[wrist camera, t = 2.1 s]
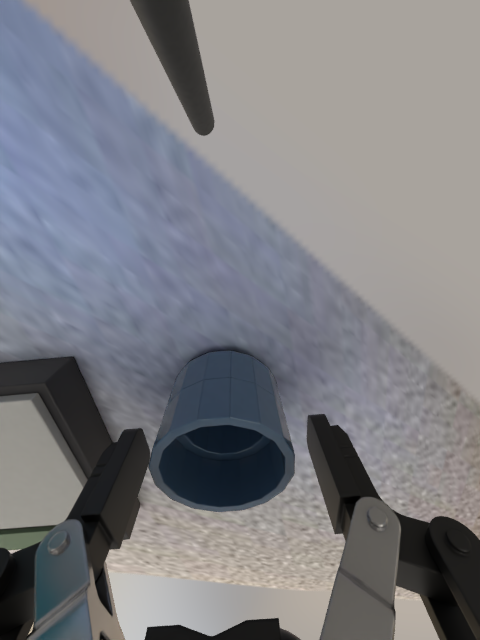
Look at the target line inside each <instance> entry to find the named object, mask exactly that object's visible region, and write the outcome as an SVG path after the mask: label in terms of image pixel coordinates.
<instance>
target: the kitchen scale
mask: <svg viewBox="0 0 480 640" xmlns="http://www.w3.org/2000/svg"><path fill="white" fill-rule="evenodd" d="M111 443H112V442H111V439H110V437H109V435H108V433H107V431H106V428H105V426H104V424H103V422H102V420H101V417H100V415H99V413H98V411H97V409H96V406H95V404H94V402H93V400H92V398H91V395H90V393H89V391H88V389H87V387H86V384H85V382H84V380H83V378H82V376H81V373H80V371H79V369H78V367H77V365H76V362H75V360H74V358H73V357H67V358H55V359H44V360H32V361H21V362H9V363H0V548H5V549H7V550H18V549H24V548H27V547H29V546H31V545H34V544H36V543H38V542H40V541H42V540H43V538H44V537H45V536H46V535H47V533H48V532H49V531H50V530H52V529H53V528H54V527H55V526H57V525H58V524H60V523H61V522H63V521H65V520H66V518H67V517H68V515H69V513H70V511H71V510H72V508H73V506H74V504H75V502H76V500H77V499H78V497H79V495H80V493H81V491H82V489H83V488H84V486H85V484H86V482H87V480H88V479H89V477H90V476H91V473H92V471H93V469H94V468H95V467H96V464H97V462H98V460H99V458H100V457H101V455H102V453H103V452H104V451H105V450H106V449H107V448H108V447H109V446H110V445H111ZM139 508H140V503H139V501H138V499H137V500H136V503H135V505H134V508H133V511H132V514H131V517H130V520H129V523H128V526H127V529H126V532H125V535H124V538H123V540H125V539H130V536H131V533H132V530H133V527H134V524H135V520H136V517H137V514H138V511H139Z"/></svg>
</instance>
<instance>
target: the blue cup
mask: <svg viewBox="0 0 480 640" xmlns="http://www.w3.org/2000/svg"><path fill="white" fill-rule="evenodd" d="M149 470H150V473H151V475H152V478H153V480H154V483H155V485H156V486H157V487H158V488H159V489H160V490H161V491H163V492H164V493H165V494H166V495H167V496H168V497H169V498H170V499H172V500H174V501H177V502H179V503H181V504H184V505H186V506H188V507H191V508H194V509H200V510H207V511H213V512H226V511H239V510H245V509H248V508H251V507H254V506H257V505H260V504H264V503H265V502H268V501H269V500H271V499H272V498H273V497H275V496H276V495H278V494H279V493H281V492H282V491H283V490H284V489H285V488H286V486H287V485H288V483H289V482H290V480H291V478H292V477H293V475H294V473H295V454H294V450H293V446H292V442H291V438H290V434H289V430H288V426H287V422H286V418H285V414H284V411H283V406H282V402H281V398H280V394H279V390H278V386H277V382H276V380H275V379H274V377H273V375H272V373H271V372H270V370H269V368H268V367H267V366H265V365H264V364H262V363H261V362H260V361H258V360H257V359H255V358H254V357H252V356H250V355H246V354H243V353H239V352H235V351H218V352H209V353H206V354H204V355H202V356H200V357H198V358H196V359H194V360H191V361H190V362H189V363H188V364H187V365H186V366H185V367H184V368H183V370H182V371H181V372H180V373H179V374H178V376H177V378H176V381H175V384H174V386H173V389H172V392H171V395H170V398H169V401H168V404H167V407H166V410H165V413H164V416H163V419H162V422H161V425H160V428H159V431H158V434H157V437H156V440H155V443H154V446H153V449H152V453H151V458H150V462H149Z"/></svg>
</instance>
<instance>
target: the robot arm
mask: <svg viewBox="0 0 480 640" xmlns="http://www.w3.org/2000/svg"><path fill="white" fill-rule="evenodd" d="M307 444H308V449H309V453H310V456H311V459H312V462H313V465H314V469H315V472H316V475H317V478H318V481H319V485H320V488H321V491H322V494H323V497H324V501H325V504H326V507H327V510H328V513H329V517H330V520H331V523H332V526H333V529H334V532H335V534H342V533H343V535H344V538H345V541H346V543H345V546H344V550H343V554H342V558H341V562H340V566H339V568H338V571H337V575H336V578H335V582H334V586H333V590H332V594H331V597H330V601H329V605H328V609H327V613H326V617H325V621H324V625H323V628H322V632H321V636H320V640H394V632H395V609H394V599H395V589H396V586H399V587H402V588H404V589H407V590H410V591H413V592H415V593H418V594H420V596H421V598H422V601H423V603H424V605H425V607H426V610H427V612H428V614H429V617H430V619H431V621H432V623H433V625H434V628H435V630H436V632H437V634H438V637H439V639H440V640H480V540H479V539H478V537H477V536H476V535H475V534H474V533H473V532H472V531H471V530H470V529H468V528H467V527H466V526H464V525H463V524H461V523H460V522H458V521H456V520H454V519H452V518H449V517H444V516H439V517H435V518H434V519H432V520H431V522H430V523H428V522H424V521H421V520H417V519H413V518H410V517H406V516H404V515H401V514H399V513H397V512H395V511H394V510H392V509H391V508H390V507H389V506H388V505H387V504H385V503H384V502H383V501H382V499H381V498H380V497H379V495H378V493H377V492H376V490H375V488H374V486H373V484H372V482H371V480H370V478H369V476H368V474H367V472H366V470H365V468H364V466H363V464H362V462H361V460H360V458H359V457H358V454H357V452H356V450H355V449H354V448H353V445H352V443H351V441H350V439H349V437H348V435H347V434H346V433H345V432H344V431H343V430H342V429H341V428H340V427H339V426H338V425H334V426H330V424H329V422H328V420H327V418H326V416H325V415H324V414H318V415H308V422H307ZM149 460H150V449H149V446H148V443H147V441H146V438H145V435H144V432H143V430H142V429H141V428H138V429H126V430H124V431H123V432H122V434H121V436H120V438H119V440H118V442H114V443H111V445H110V446H109V447H108V448H107V449H106V450H105V451H104V452H103V453H102V455H101V457H100V458H99V460H98V462H97V464H96V467H95V468H94V469H93V471H92V473H91V476H90V477H89V479H88V480H87V482H86V484H85V486H84V488H83V489H82V491H81V493H80V495H79V497H78V499H77V500H76V502H75V504H74V506H73V508H72V510H71V511H70V513H69V515H68V517H67V518H66V520H65V521H63V522H61V523H60V524H58V525H57V526H55V527H54V528H53V529H52V530H50V531H49V532H48V533H47V535H46V536H45V537H44V538H43V540H42V541H40V542H38V543H36V544H34V545H31V546H29V547H27V548H24V549H22V550H19V551H17V552H15V553H12V554H11V553H10V552H9V551H8V550H7V549H5V548H0V640H125V638H124V635H123V632H122V630H121V627H120V625H119V622H118V618H117V614H116V610H115V605H114V600H113V595H112V590H111V585H110V580H109V575H108V570H107V565H106V562H105V560H106V557H107V554H108V552H109V549H120V547H121V544H122V541H123V538H124V535H125V532H126V529H127V526H128V523H129V520H130V517H131V514H132V511H133V508H134V505H135V503H136V500H137V497H138V494H139V491H140V488H141V485H142V482H143V479H144V476H145V473H146V470H147V467H148V464H149ZM33 622H34V626H33V630H32V632H31V633H30V634H29V635H28V633H29V631H30V629H31V627H32V624H33ZM145 640H300V639H299V638H298V637H296V636H295V635H293V634H292V633H290V632H288V631H286V630H283V629H281V628H280V627H279V619H278V618H275V619H259V620H246V621H244V622H242V623H240V624H238V625H236V626H234V627H232V628H230V629H228V630H226V631H224V632H222V633H220V634H218V635H215V636H207V635H205V634H202V633H199V632H197V631H194V630H191V629H189V628H186V627H183V626H181V625H173V626H157V627H148V628H147V632H146V637H145Z"/></svg>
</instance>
